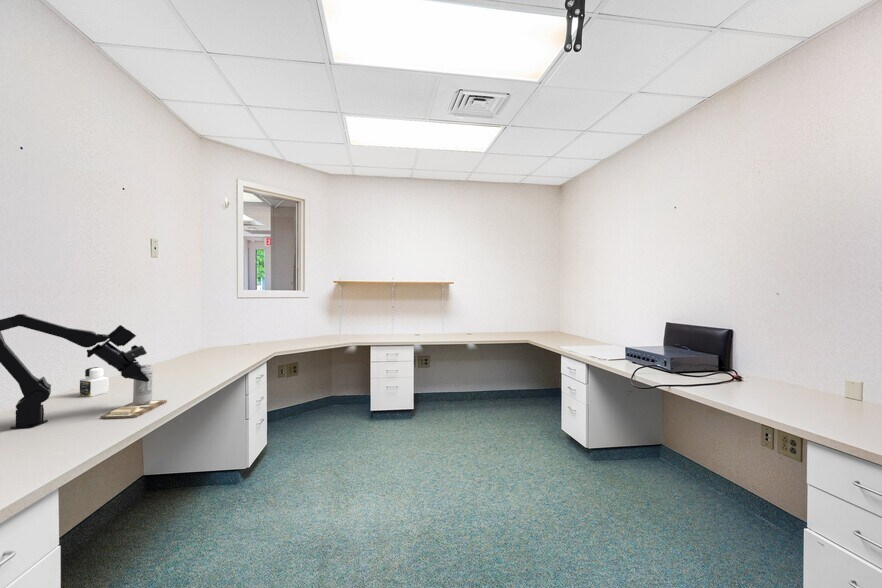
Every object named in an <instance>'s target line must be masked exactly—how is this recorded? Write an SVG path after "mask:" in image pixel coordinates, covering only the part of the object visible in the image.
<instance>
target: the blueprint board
mask: <svg viewBox="0 0 882 588" xmlns="http://www.w3.org/2000/svg"><path fill="white" fill-rule="evenodd" d="M166 402H167V403H168V400H167V399H160V400H159V399H156V400H155V399H152V400H151V401H150V402H149V403H146V404H135V403H134V402H133V401H132V402H129V403H127V404H125V405H123V406H121V407H117V408H116V409H113V410H112V411H109V412H107V413H105V414H102V415H100V417H99V418H100V420H104V419H103V418H112V419H121V418H120V417H137V418H139V417H141V416H142V414H143V415H145V414H146V412H147V413H149V412H151V411H153V410H155V409H157V408H158V406H159V407H160V405H161V406H162V404H163V405H165V404H166ZM164 403H165V404H164ZM156 407H157V408H156ZM154 408H155V409H154ZM152 409H153V410H152ZM150 410H151V411H150ZM148 411H149V412H148ZM144 413H145V414H144ZM140 415H141V416H140ZM138 416H139V417H138Z"/></svg>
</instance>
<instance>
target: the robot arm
mask: <svg viewBox="0 0 882 588" xmlns="http://www.w3.org/2000/svg"><path fill="white" fill-rule="evenodd" d="M18 327H22V328H25V329H30V330H33V331H36V332H40V333H44V334H48V335H51V336H55V337H59V338H62V339H64V340H67V341H68V342H70V343H72V344H75V345H77V346H80V347H82V348H86V352H87V353H86V357H87V358H90V357H92V356H94V355H95V356H96V357H98V358H99V359H101V360H102V361H104V362H105V363H106V364H108V366H111V367H113V368H114V369H116V370H117V371H118V372H119V373H120V376H121V377H123V378H124V379H130V380H134V379H135V380H140V381H145V382H148V381H149V379H148V378H147V376H146V375H145V374H144V373H143V372H142V371H141V365H142V364H140V363H139V361H138V360H137V358H139V357H141V356H145V355H147V353H148V352H147V351H146V349H145V347H144V346H143V345H139V346H138V345H136V344H134V345H132V346H131V347H130V350H128V351H126V352H125V351H124V350H120V349H118V347H121V346H122V347H124V346H126V345H128V343H129V342H131V341H132V340H133V339H134V338H136V337H137V335H136V334H135V333H134V332H133V331H131V330H130V329H127V328H125V327H124V326H123V325H121V324H119V325H118V326H116V328H115V329H114V330H112V331H111V332H109V333H108V334H106V333H103V334H100V333H97V332H95V331H92V330H87V329H78V328H71V327H70V328H69V327H67V326H63V325H60V324H56V323H53V322H49V321H46V320H43V319H40V318H39V319H38V318H37V317H36V318H35V317H32V316H29V315H27V314H23V313H19V314H15V315H13V316H10V317H9V316H8V317H6V318H2V319H1V318H0V364H1V365H2V367H4V369H5V370H6V371H7V372H8V373H9V374H10V376H11V377H12V378H13V379H14V380H15V381H16V382H17V383H18V385H19V388H20V391H21V394H22V395H23V397H21V398H20V399H19V400H18V401H17V403H16V405H15V408H16V409H15V425H12V426H10V429H30V428H34V427H36V426H39V425H42V424H45V423H47V422H49V420H48V419H45V417H44V416H45V412H44V411H45V409H44V404H42V403H44V402H46V401H47V400H48V399H49V397H50V395H51V392H52V389H51V387H52V384H50V383H49V382H47V380H46V377H45V376H42V377H40V378H39V377H37V376H35V375H34V374H33V373H32V372H31V371H30V370H29V369H28V368H27V367H26V365H25V364H24V363H23V361H21V359H20V358H19V357H18V356H17V354H16V353H15V352H14V351H13V350H12V349H11V347H9V345H8V344H7V343H6V341H5V338H4V336H3V333H2V331H6V330H10V329H14V328H18ZM110 342H111V343H112V344H111V343H110ZM100 343H102V344H100ZM114 345H115V346H114ZM87 348H88V349H87ZM89 348H91V349H89Z"/></svg>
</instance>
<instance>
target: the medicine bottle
mask: <svg viewBox="0 0 882 588" xmlns="http://www.w3.org/2000/svg"><path fill="white" fill-rule="evenodd" d="M84 373H85V375H84V376H85V377H84V378H83V379H80V380H79V396H80V395H82V396H83V397H88V396H89V397H88V398H91V396H92V397H96V395H97V396H101V395H104V394H105V393H106V394H108V393H109V392H110V391H109V389H110V387H109V386H110V385H109V384H110V383H109V381H110V379H109V377H108V376H107V377H106V376H104V375H105V374H104V368H103V367H101V366H96V367H88V368H86V369H85V370H84ZM100 394H101V395H100ZM82 396H81V397H82Z"/></svg>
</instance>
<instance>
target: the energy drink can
mask: <svg viewBox="0 0 882 588" xmlns="http://www.w3.org/2000/svg"><path fill="white" fill-rule="evenodd" d="M140 365H141V371H142V372H143V373H144V374H145V375H146V376H147V378H148V379H149V381H148V382H145V381H140V380H135V379H133V389H132V390H133V393H132V395H133V396H132V397H133V398H132V402H134V403H135V404H146V403H149V402H150V401H151V400H153V386H154V385H153V382H154V380H153V378H154V368H153V367H152V364H140Z"/></svg>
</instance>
